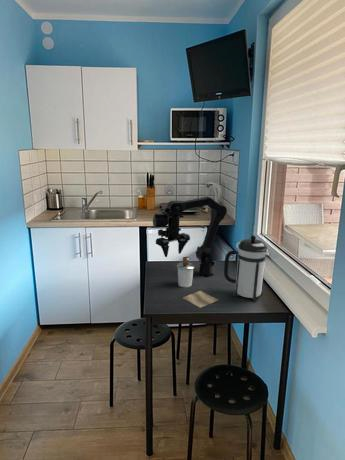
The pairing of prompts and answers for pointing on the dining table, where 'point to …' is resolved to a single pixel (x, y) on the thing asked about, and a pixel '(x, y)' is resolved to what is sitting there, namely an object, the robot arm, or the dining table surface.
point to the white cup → (185, 277)
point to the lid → (185, 264)
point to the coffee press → (248, 267)
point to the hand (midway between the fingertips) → (172, 255)
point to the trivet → (200, 299)
